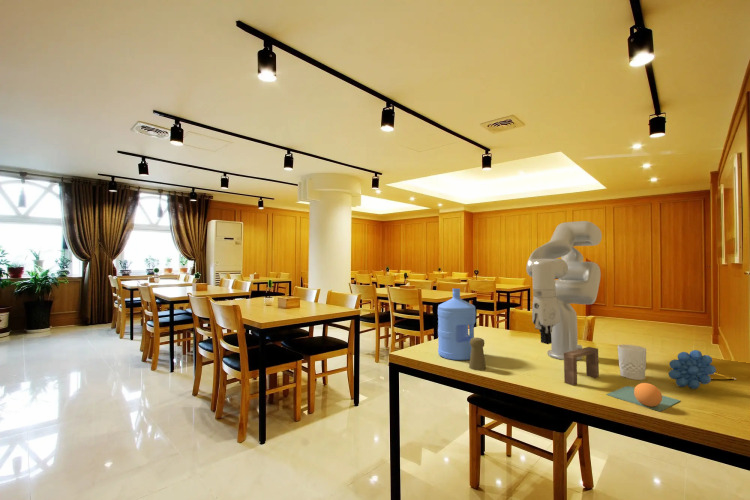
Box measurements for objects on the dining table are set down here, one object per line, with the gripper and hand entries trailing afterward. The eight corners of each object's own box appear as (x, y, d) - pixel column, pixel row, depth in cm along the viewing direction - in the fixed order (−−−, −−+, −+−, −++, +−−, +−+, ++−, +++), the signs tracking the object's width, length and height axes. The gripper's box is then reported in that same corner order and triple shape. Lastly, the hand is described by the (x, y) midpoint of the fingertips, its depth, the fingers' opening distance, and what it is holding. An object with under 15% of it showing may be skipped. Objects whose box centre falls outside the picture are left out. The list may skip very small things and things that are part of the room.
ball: (649, 407, 95) (635, 385, 98) (671, 401, 91) (656, 379, 94) (638, 410, 92) (625, 387, 95) (661, 404, 88) (645, 381, 91)
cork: (487, 370, 123) (486, 340, 123) (469, 369, 124) (469, 339, 124) (485, 365, 128) (484, 336, 129) (468, 364, 130) (468, 335, 130)
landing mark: (627, 386, 107) (627, 385, 107) (680, 401, 96) (680, 400, 96) (606, 394, 100) (606, 394, 100) (660, 411, 89) (660, 410, 89)
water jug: (432, 356, 140) (431, 289, 141) (446, 348, 153) (446, 286, 154) (468, 363, 132) (467, 291, 132) (481, 353, 144) (480, 288, 145)
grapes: (707, 386, 107) (706, 347, 107) (721, 394, 100) (720, 353, 101) (662, 381, 111) (661, 345, 111) (673, 389, 104) (672, 350, 105)
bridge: (564, 382, 110) (563, 352, 111) (589, 374, 118) (588, 346, 118) (573, 385, 108) (573, 355, 108) (598, 377, 115) (598, 348, 115)
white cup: (641, 374, 118) (640, 345, 118) (651, 381, 111) (650, 351, 111) (615, 371, 121) (614, 343, 121) (623, 379, 113) (622, 349, 114)
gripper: (541, 297, 118) (543, 349, 118) (566, 292, 125) (567, 341, 126) (522, 294, 124) (524, 344, 125) (547, 290, 132) (548, 337, 132)
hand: (546, 343), depth 125 cm, fingers closed
